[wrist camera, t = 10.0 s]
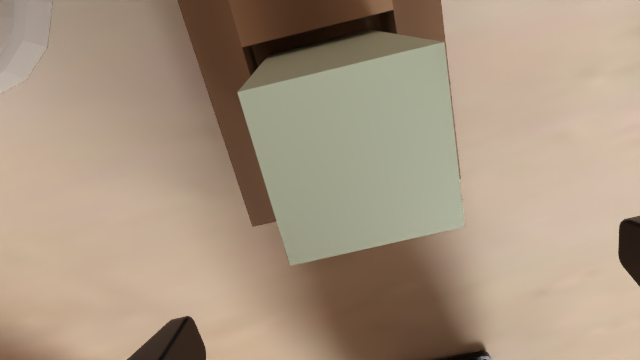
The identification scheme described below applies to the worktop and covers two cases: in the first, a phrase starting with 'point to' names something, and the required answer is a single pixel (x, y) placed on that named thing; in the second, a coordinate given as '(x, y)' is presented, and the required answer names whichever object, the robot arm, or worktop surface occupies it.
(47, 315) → the worktop surface
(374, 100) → the green block
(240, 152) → the pocket holder
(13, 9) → the french press
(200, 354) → the robot arm
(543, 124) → the worktop surface
